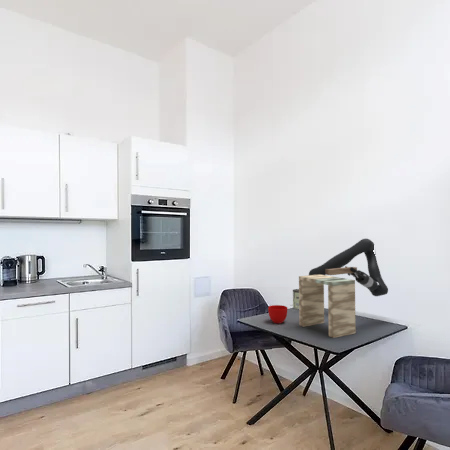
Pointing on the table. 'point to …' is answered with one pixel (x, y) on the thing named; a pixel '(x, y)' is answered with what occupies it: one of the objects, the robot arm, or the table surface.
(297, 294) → the coffee can
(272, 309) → the ceramic cup
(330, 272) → the batten
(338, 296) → the bench
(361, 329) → the table surface
